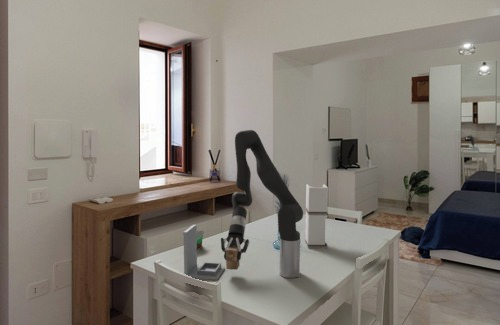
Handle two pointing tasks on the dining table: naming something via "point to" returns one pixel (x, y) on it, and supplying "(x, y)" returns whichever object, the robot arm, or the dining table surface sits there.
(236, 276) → the dining table surface
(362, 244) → the dining table surface
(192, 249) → the grey socket stand
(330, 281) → the dining table surface
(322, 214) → the white square tower
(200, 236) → the food container
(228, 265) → the walnut block
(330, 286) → the dining table surface
